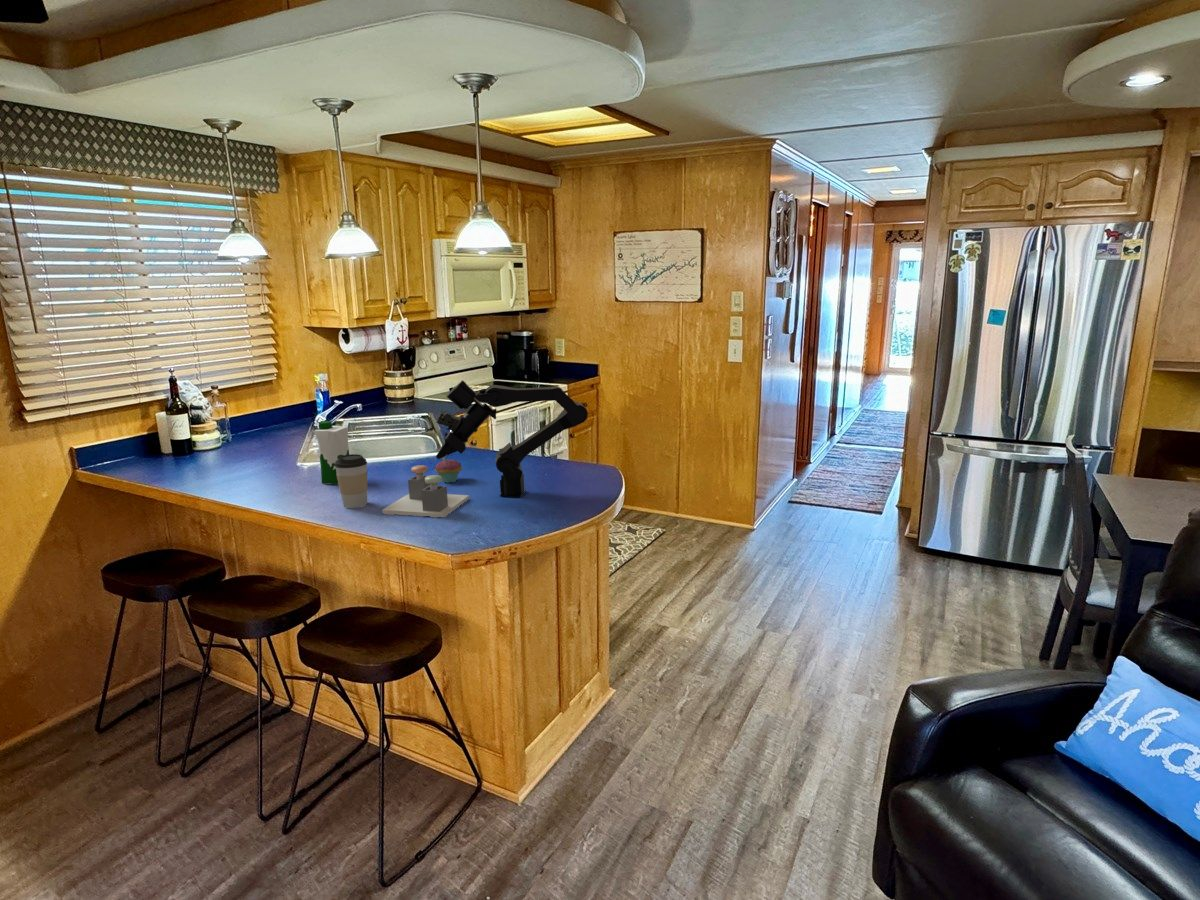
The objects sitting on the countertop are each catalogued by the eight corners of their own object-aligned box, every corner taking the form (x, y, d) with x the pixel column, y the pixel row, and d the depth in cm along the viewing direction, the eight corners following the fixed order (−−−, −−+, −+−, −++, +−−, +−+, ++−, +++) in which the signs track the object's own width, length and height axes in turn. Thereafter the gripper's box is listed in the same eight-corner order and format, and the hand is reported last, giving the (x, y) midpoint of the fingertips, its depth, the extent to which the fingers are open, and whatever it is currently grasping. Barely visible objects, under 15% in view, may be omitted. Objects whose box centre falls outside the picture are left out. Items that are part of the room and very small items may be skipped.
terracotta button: (431, 487, 208) (429, 465, 206) (424, 492, 204) (422, 469, 202) (417, 486, 209) (415, 465, 207) (410, 491, 205) (408, 469, 203)
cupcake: (436, 485, 222) (433, 449, 219) (435, 478, 230) (432, 443, 227) (463, 483, 224) (461, 447, 222) (461, 476, 232) (459, 441, 229)
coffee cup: (360, 497, 211) (355, 450, 207) (377, 503, 205) (372, 454, 202) (333, 505, 204) (327, 456, 201) (350, 511, 199) (344, 461, 195)
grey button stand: (469, 499, 208) (467, 476, 206) (444, 518, 192) (442, 493, 190) (411, 495, 212) (409, 473, 211) (382, 513, 196) (380, 489, 195)
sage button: (446, 498, 198) (444, 475, 196) (438, 503, 193) (436, 480, 192) (431, 497, 199) (429, 474, 197) (423, 502, 194) (421, 479, 193)
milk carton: (332, 476, 234) (326, 419, 229) (356, 478, 232) (350, 419, 228) (317, 484, 226) (310, 424, 221) (342, 485, 224) (335, 425, 219)
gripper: (452, 396, 211) (418, 433, 212) (450, 407, 193) (413, 447, 194) (480, 420, 214) (446, 456, 215) (480, 433, 196) (444, 472, 197)
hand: (437, 457), depth 205 cm, fingers closed
